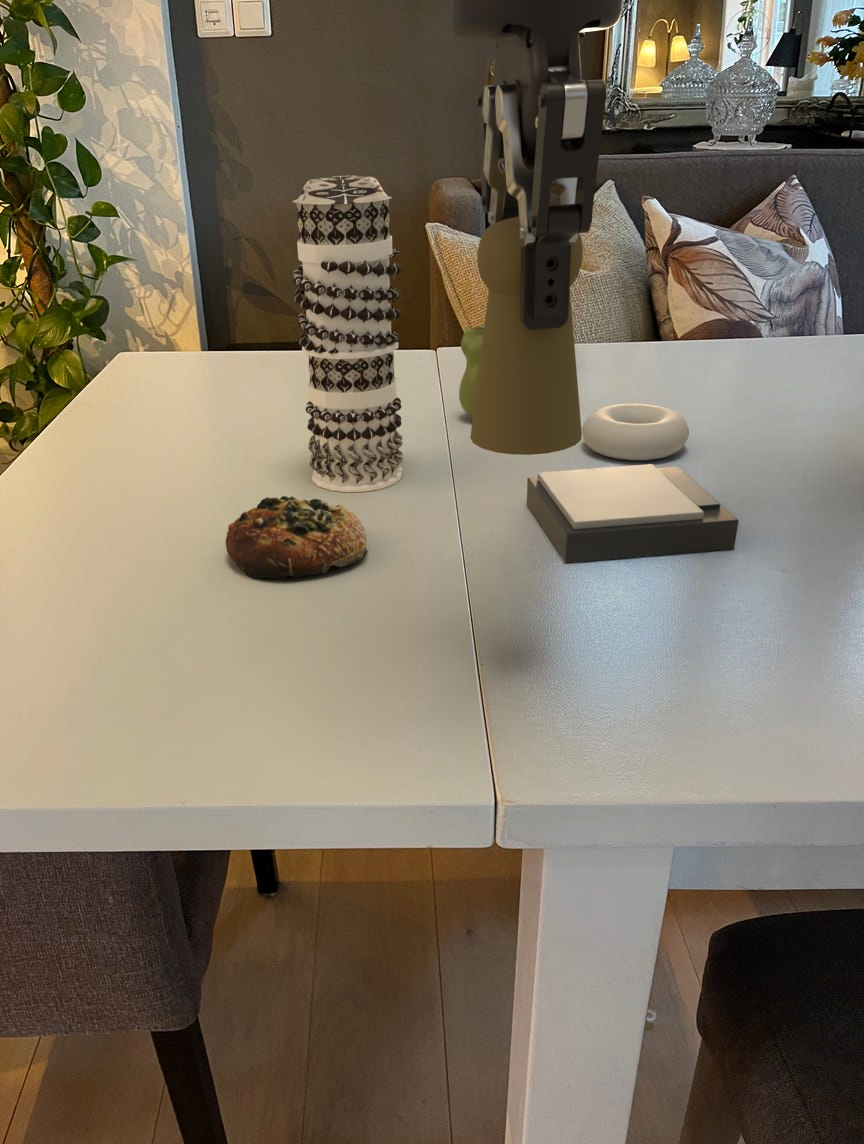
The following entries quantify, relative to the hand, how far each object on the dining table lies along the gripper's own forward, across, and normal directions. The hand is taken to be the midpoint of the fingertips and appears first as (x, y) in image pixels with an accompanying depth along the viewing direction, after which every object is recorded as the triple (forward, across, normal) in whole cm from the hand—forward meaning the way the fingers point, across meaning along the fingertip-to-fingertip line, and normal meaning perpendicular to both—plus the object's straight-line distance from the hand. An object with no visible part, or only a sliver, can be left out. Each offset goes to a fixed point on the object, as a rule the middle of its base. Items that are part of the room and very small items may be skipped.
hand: (528, 314), depth 49 cm
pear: (+21, +50, -8) cm, 54 cm away
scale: (+21, +18, -13) cm, 31 cm away
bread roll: (+21, +19, +13) cm, 31 cm away
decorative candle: (+21, +35, +7) cm, 41 cm away
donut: (+21, +36, -20) cm, 47 cm away
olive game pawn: (+7, 0, 0) cm, 7 cm away
